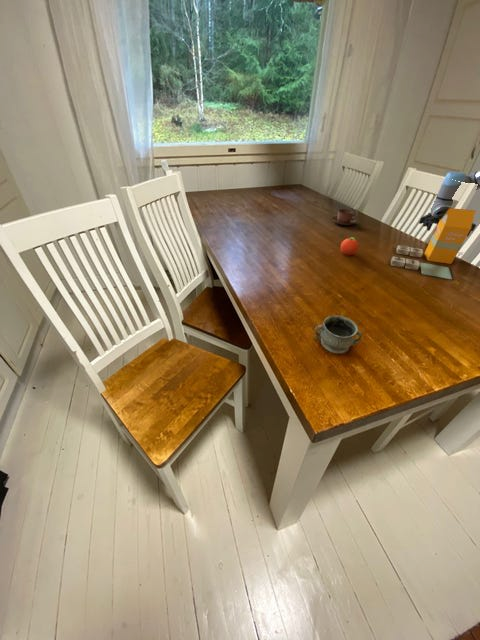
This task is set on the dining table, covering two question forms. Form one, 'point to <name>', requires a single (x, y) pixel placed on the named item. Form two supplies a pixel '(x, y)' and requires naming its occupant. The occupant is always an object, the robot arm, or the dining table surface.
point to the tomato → (349, 246)
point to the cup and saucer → (345, 217)
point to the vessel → (338, 334)
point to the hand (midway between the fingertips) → (448, 230)
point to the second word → (422, 267)
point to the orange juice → (449, 235)
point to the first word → (409, 251)
